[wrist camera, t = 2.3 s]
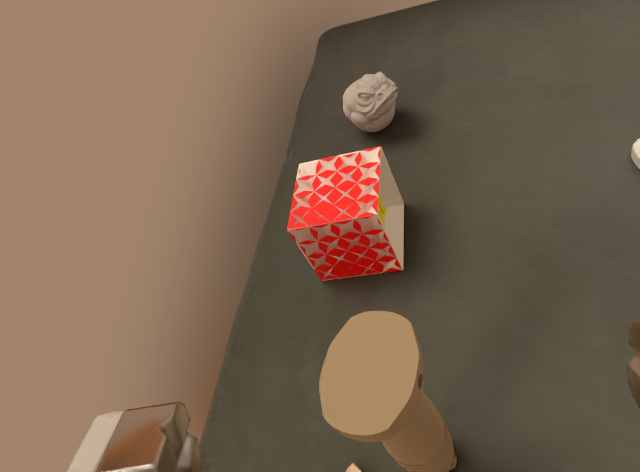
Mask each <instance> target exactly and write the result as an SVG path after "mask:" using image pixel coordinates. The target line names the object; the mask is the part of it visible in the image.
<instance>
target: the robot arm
mask: <svg viewBox="0 0 640 472" xmlns="http://www.w3.org/2000/svg"><path fill="white" fill-rule="evenodd" d="M631 158H632V160H633V162H634V163H635V165H636V166H637V167H638V168H639V169H640V138H639V139H638V140H637V141H636V142H635V143H634V144H633V147H632V151H631ZM629 345H630V346H631V347H632V348H633V349H634V350H635V351H636V352H637V353H636V354H635V356H634V357H633V358H632V360H631V361H630V362H629V364H628V383H629V386H630V390H631V393H632V396H633V398H634V400H635V401H636V403H637V405H638V406H639V408H640V322H639V323H633V325H632V327H631V329H630V331H629ZM189 422H190V417H189V415H188V412H187V410H186V407H185V405H184V404H183V403H181V402H174V403H168V404H162V405H154V406H148V407H141V408H135V409H128V410H122V411H116V412H111V413H104V414H101V415H99V416H98V417H96V418H95V420H94V421H93V423H92V425H91V427H90V429H89V430H88V432H87V434H86V436H85V438H84V440H83V442H82V444H81V446H80V447H79V449H78V451H77V453H76V455H75V457H74V459H73V460H72V463H71V464H70V466H69V468H68V470H67V472H202V468H203V462H202V456H201V451H200V447H199V444H198V441H197V438H195V437H194V436H192V435H191V434H190V433H188V432H187V430H188V426H189Z"/></svg>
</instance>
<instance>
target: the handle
mask: <svg viewBox="0 0 640 472" xmlns="http://www.w3.org/2000/svg"><path fill="white" fill-rule="evenodd" d="M423 382H424V362H423V357H422V353H421V349H420V346H419V342H418V339H417V336H416V333H415V330H414V328H413V326H412V324H411V322H409V321H408V320H407V319H406V318H404V317H402V316H401V315H399V314H395V313H392V312H387V311H369V312H364V313H361V314H358V315H356V316H354V317H351V318H350V320H349V321H348V322H347V323H346V325H345V326H344V327H343V328H342V329H341V331H340V332H339V333H338V334H337V336H336V337H335V338H334V340H333V342H332V343H331V345H330V347H329V349H328V352H327V355H326V358H325V361H324V365H323V368H322V371H321V376H320V381H319V383H320V398H321V405H322V412H323V417H324V418H325V420H326V421H327V422H328V423H329V424H330V425H331V426H332V427H333V428H334V429H336V430H337V431H338V432H339V433H340V434H342V435H344V436H346V437H348V438H350V439H353V440H357V441H361V442H382V443H383V445H384V446H385V448H386V449H387V451H388V452H389V454H390V455H391V456H392V457H393V458H394V459H395V460H396V461H397V462H398V463H399V464H400V465H401V466H402V467H403V468H404V469H406V470H407V471H408V472H449V471H450V470H451V469H454V468H455V467H456V462H457V458H456V454H455V453H454V449H453V442H452V438H451V435H450V432H449V430H448V427H447V425H446V423H445V421H444V419H443V418H442V416H441V414H440V412H439V411H438V410H437V409H436V407H435V406H434V405H433V403H432V402H431V401H430V400H429V398H428V397H427V396H426V395H425V393H424V392H423V391H422V390H423Z"/></svg>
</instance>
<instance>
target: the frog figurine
mask: <svg viewBox="0 0 640 472" xmlns="http://www.w3.org/2000/svg"><path fill="white" fill-rule="evenodd" d="M397 95H398V88H397V87H396V85H395V83H394V82H393V81H391V80H390V79H388V78H386V77H385V75H384V74H383V73H382V72H377V73H376V74H374V75H372V74H371V75H369V74H365V75H364V76H363V77H362V78H361V79H359V80H357V81H355V82H354V83H353V84H351V85H350V86H349V87H348V88H347V89H346V91H345V93H344V96H343V103H344V104H343V110H344V113H345V115H346V116H347V117H348V118H350V120H351V121H352V122H353V123H354V124H355V125H356V126H357V127H358V128H360V129H361V130H364V131H367V132H377V131H380V130H382V129H384V128H385V127H387V126H388V125H389V124H390V122H391V121H392V119H393V116H394V113H395V106H396V104H395V98H396V97H397Z"/></svg>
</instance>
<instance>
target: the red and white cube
mask: <svg viewBox="0 0 640 472" xmlns="http://www.w3.org/2000/svg"><path fill="white" fill-rule="evenodd" d="M287 231H288V232H289V234H290V235H291V237H292V238H293V239H294V241H295V242H296V244H297V245H298V247H299V248H300V250H301V251H302V253H303V254H304V256H305V257H306V259H307V260H308V261H309V263H310V264H311V266H312V267H313V269H314V270H315V272H316V273H317V275H318V276H319V278H320V279H321V281H324V280H331V279H339V278H347V277H354V276H362V275H370V274H377V273H386V272H394V271H401V270H403V258H404V203H403V200H402V198H401V195H400V192H399V190H398V187H397V185H396V182H395V180H394V177H393V175H392V172H391V170H390V167H389V165H388V162H387V160H386V157H385V155H384V152H383V150H382V147H381V146H379V147H375V148H370V149H365V150H361V151H356V152H352V153H347V154H343V155H338V156H333V157H329V158H324V159H320V160H315V161H310V162H306V163H301V164H299V168H298V173H297V179H296V184H295V190H294V195H293V201H292V206H291V212H290V217H289V223H288V228H287Z"/></svg>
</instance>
